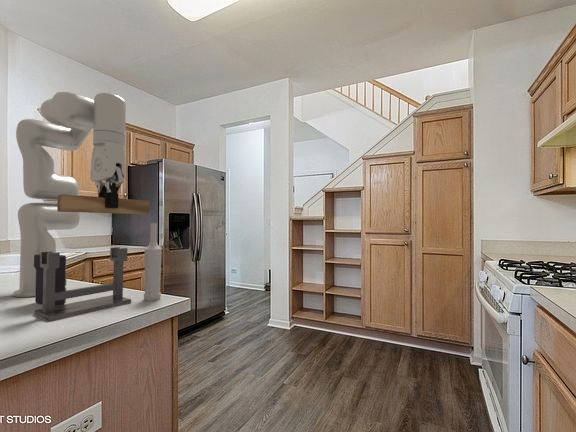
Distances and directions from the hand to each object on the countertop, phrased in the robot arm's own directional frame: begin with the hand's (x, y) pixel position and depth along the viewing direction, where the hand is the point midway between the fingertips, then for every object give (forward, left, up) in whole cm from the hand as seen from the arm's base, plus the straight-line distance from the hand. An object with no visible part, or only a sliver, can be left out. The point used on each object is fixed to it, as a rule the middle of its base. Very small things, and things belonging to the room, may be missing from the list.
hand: (108, 207), depth 81 cm
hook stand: (-11, 0, -29) cm, 31 cm away
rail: (0, 0, -2) cm, 2 cm away
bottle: (-5, +17, -29) cm, 34 cm away
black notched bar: (-25, -4, -29) cm, 39 cm away
